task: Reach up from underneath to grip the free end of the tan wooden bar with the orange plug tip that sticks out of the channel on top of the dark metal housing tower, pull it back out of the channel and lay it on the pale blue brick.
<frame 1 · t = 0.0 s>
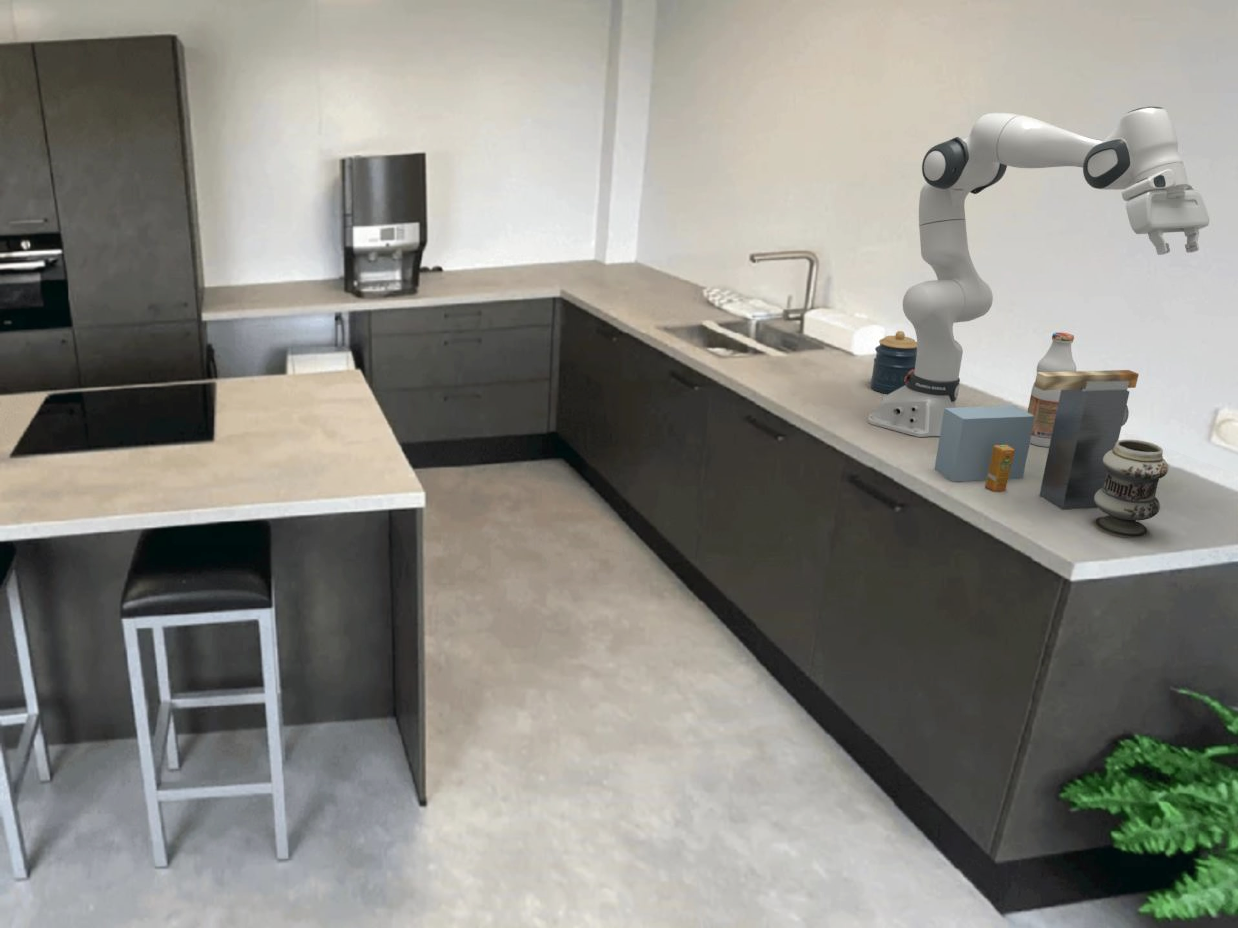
hand: (1178, 252, 195), 54 cm above the worktop, tool tilted 30°, fingers open, 8 cm apart
housing tower: (1070, 501, 215), on the worktop
pale blue brick: (978, 473, 229), on the worktop
supplement box: (995, 489, 221), on the worktop
canister: (892, 390, 293), on the worktop
tan wooden bar: (1085, 387, 206), point 26 cm above the worktop, touching housing tower
apothecary jar: (1120, 528, 203), on the worktop
fruit juice: (1041, 442, 253), on the worktop
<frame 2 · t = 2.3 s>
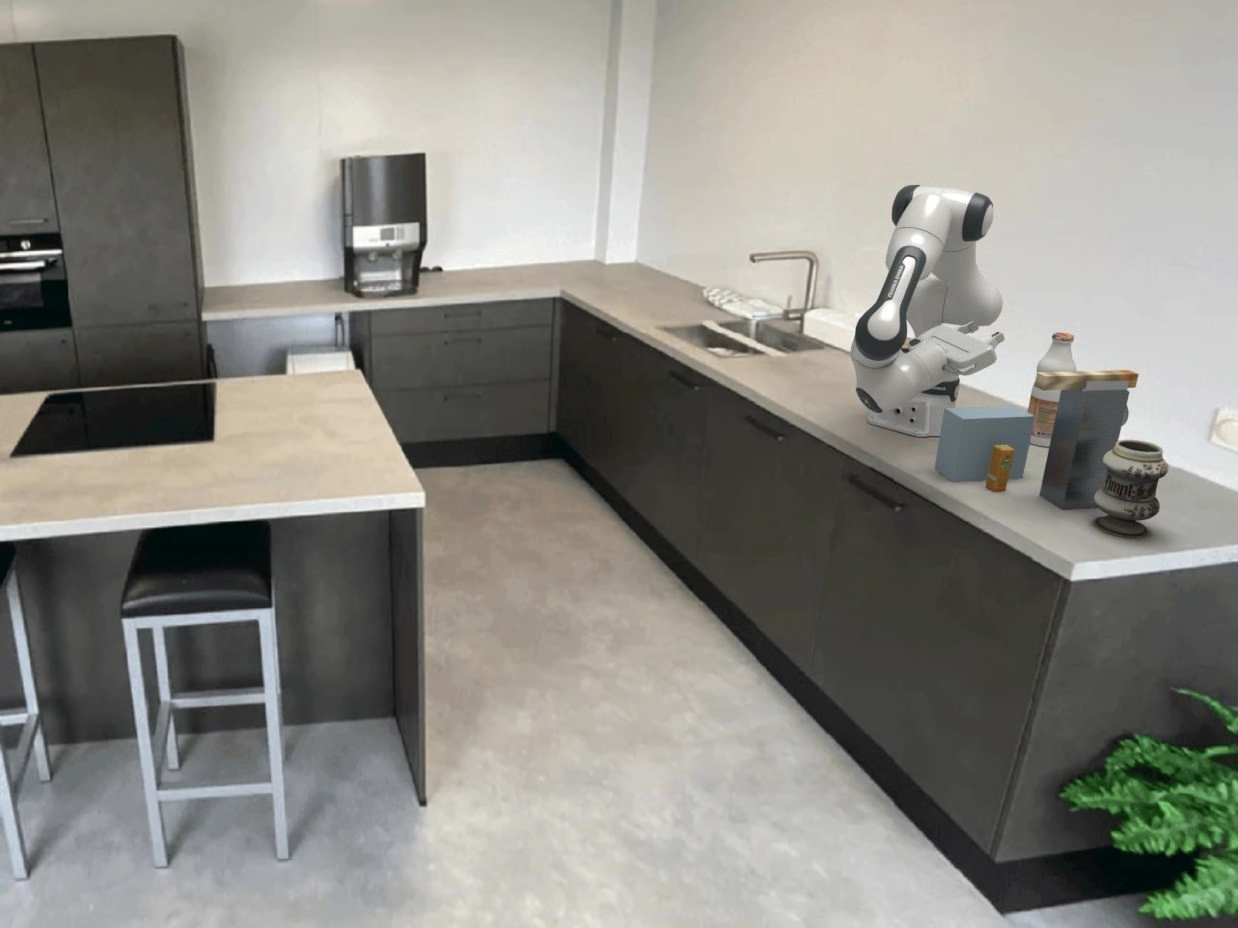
hand: (988, 330, 205), 36 cm above the worktop, tool pointing upward, fingers open, 8 cm apart
nothing on the worktop moved.
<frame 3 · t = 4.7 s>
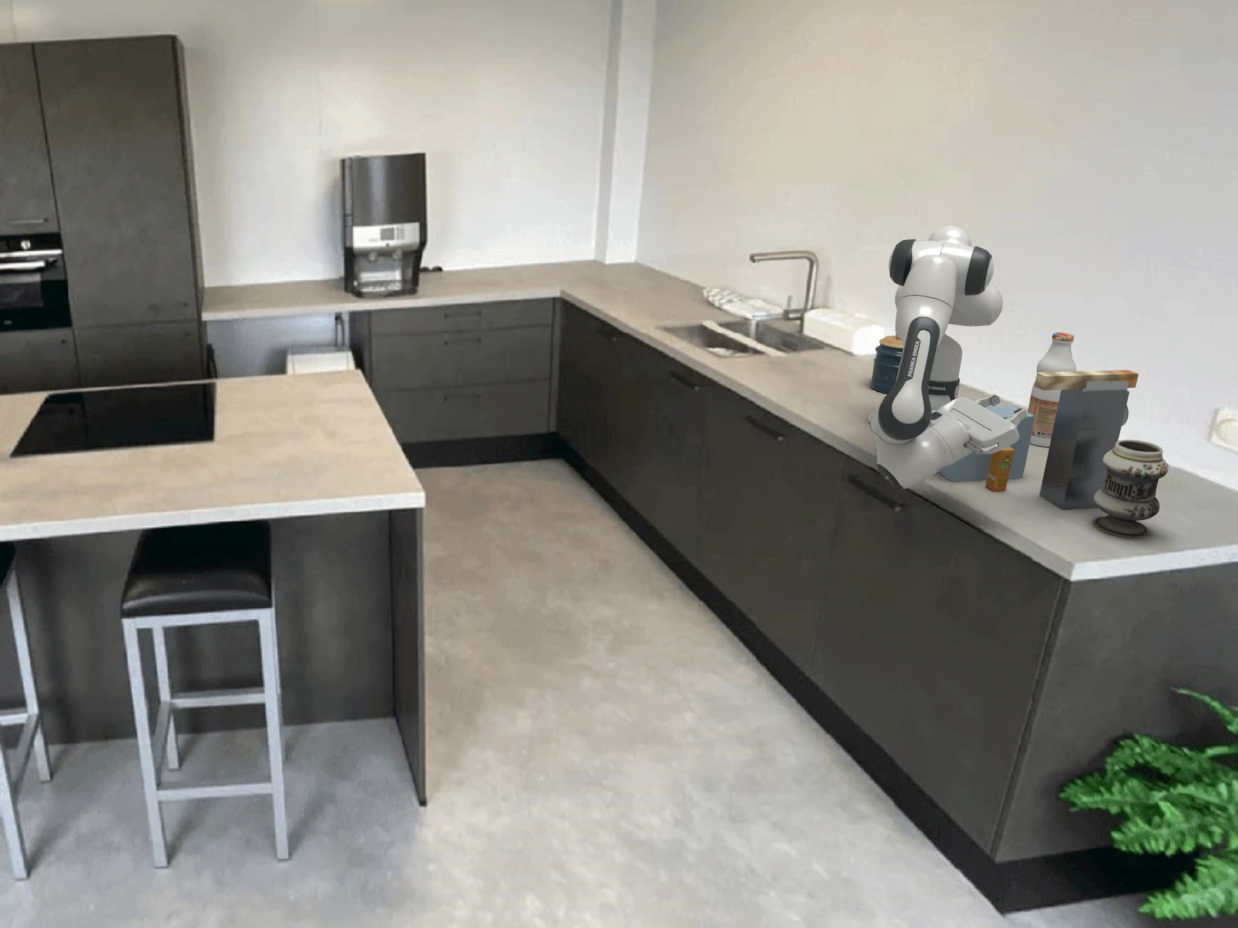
hand: (1010, 404, 203), 23 cm above the worktop, tool pointing upward, fingers open, 8 cm apart
nothing on the worktop moved.
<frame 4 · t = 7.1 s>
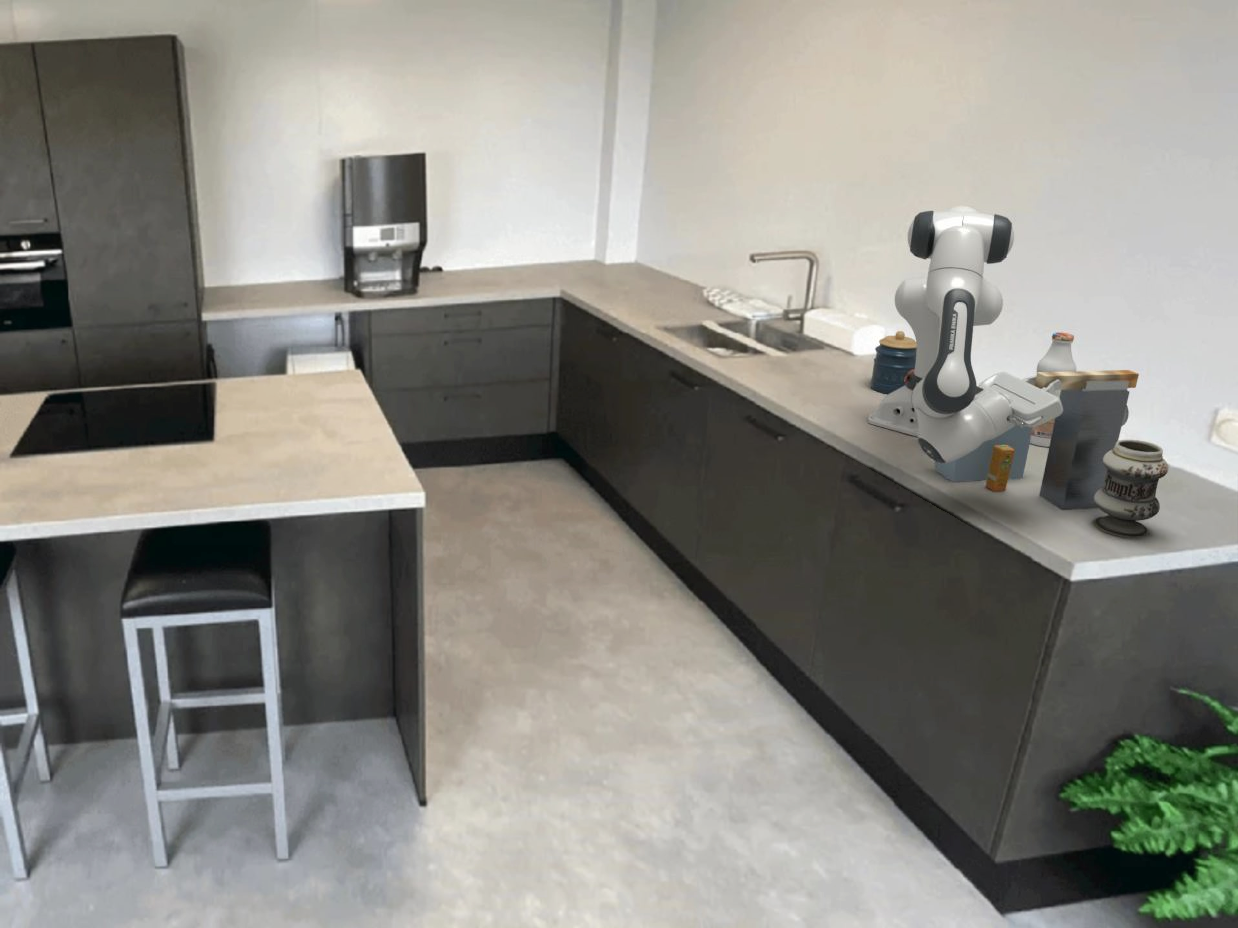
hand: (1052, 379, 203), 28 cm above the worktop, tool pointing upward, fingers closed on tan wooden bar, 3 cm apart
tan wooden bar: (1085, 387, 206), point 26 cm above the worktop, touching gripper, housing tower
everything else where it was.
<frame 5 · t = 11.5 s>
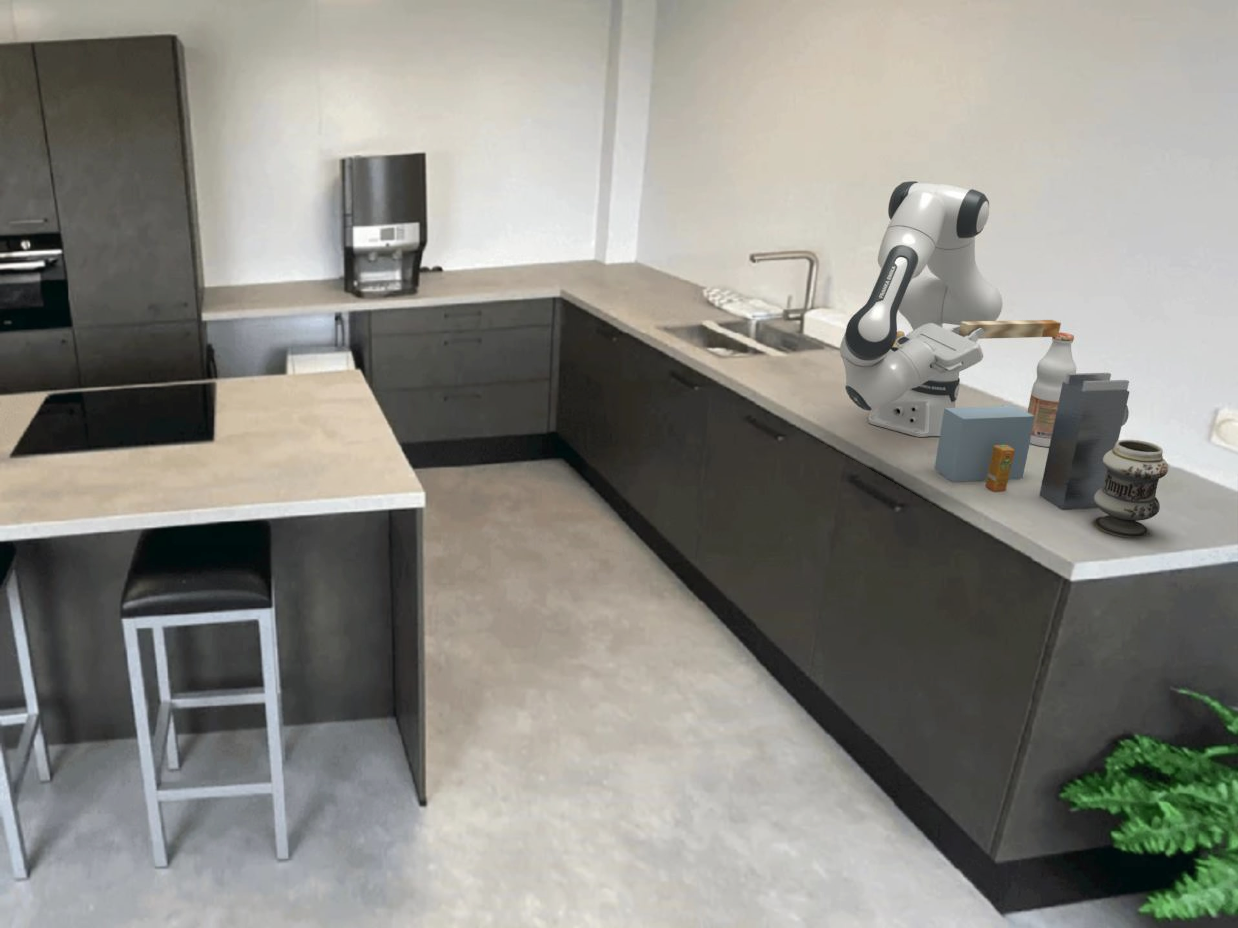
hand: (976, 327, 208), 36 cm above the worktop, tool pointing upward, fingers closed on tan wooden bar, 3 cm apart
tan wooden bar: (1008, 336, 211), point 34 cm above the worktop, touching gripper
everything else where it was.
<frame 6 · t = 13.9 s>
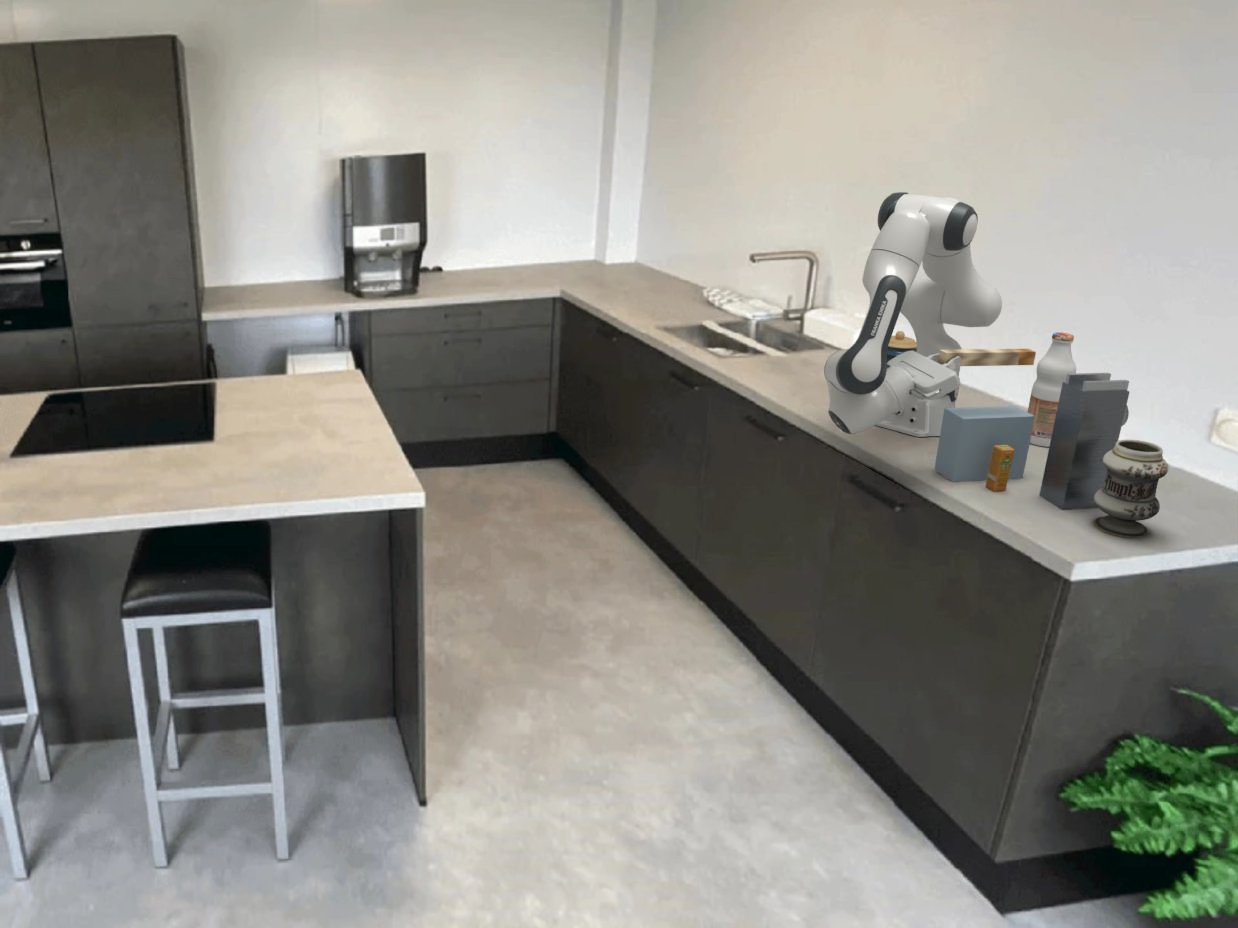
hand: (954, 356, 216), 28 cm above the worktop, tool pointing upward, fingers closed on tan wooden bar, 3 cm apart
tan wooden bar: (985, 364, 219), point 26 cm above the worktop, touching gripper
everything else where it was.
when the fingers open (19 cm above the worktop, at t = 15.9 s): tan wooden bar drops 2 cm, resting on pale blue brick.
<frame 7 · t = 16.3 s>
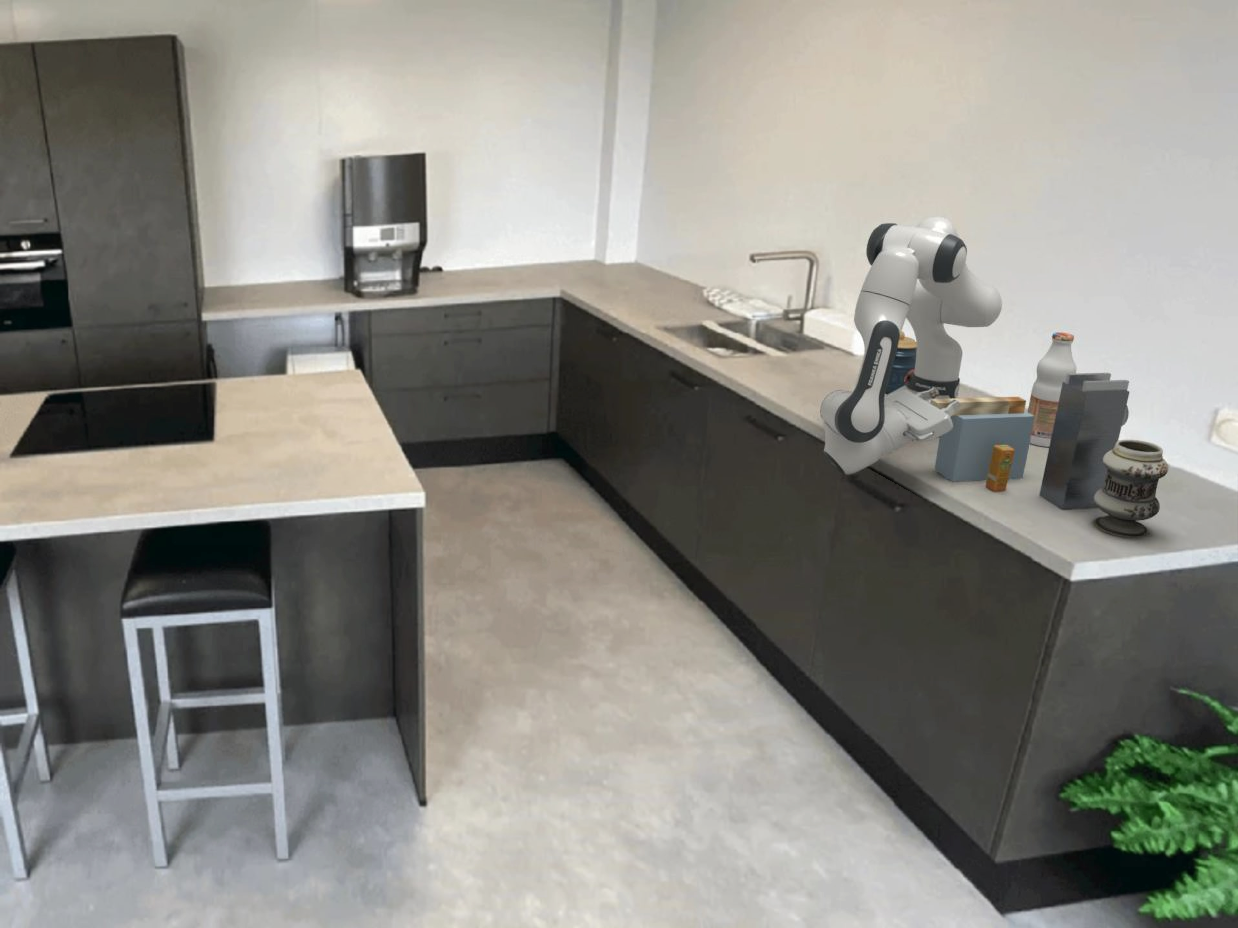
hand: (947, 396, 220), 19 cm above the worktop, tool pointing upward, fingers open, 8 cm apart
tan wooden bar: (976, 412, 223), point 15 cm above the worktop, touching pale blue brick
everything else where it was.
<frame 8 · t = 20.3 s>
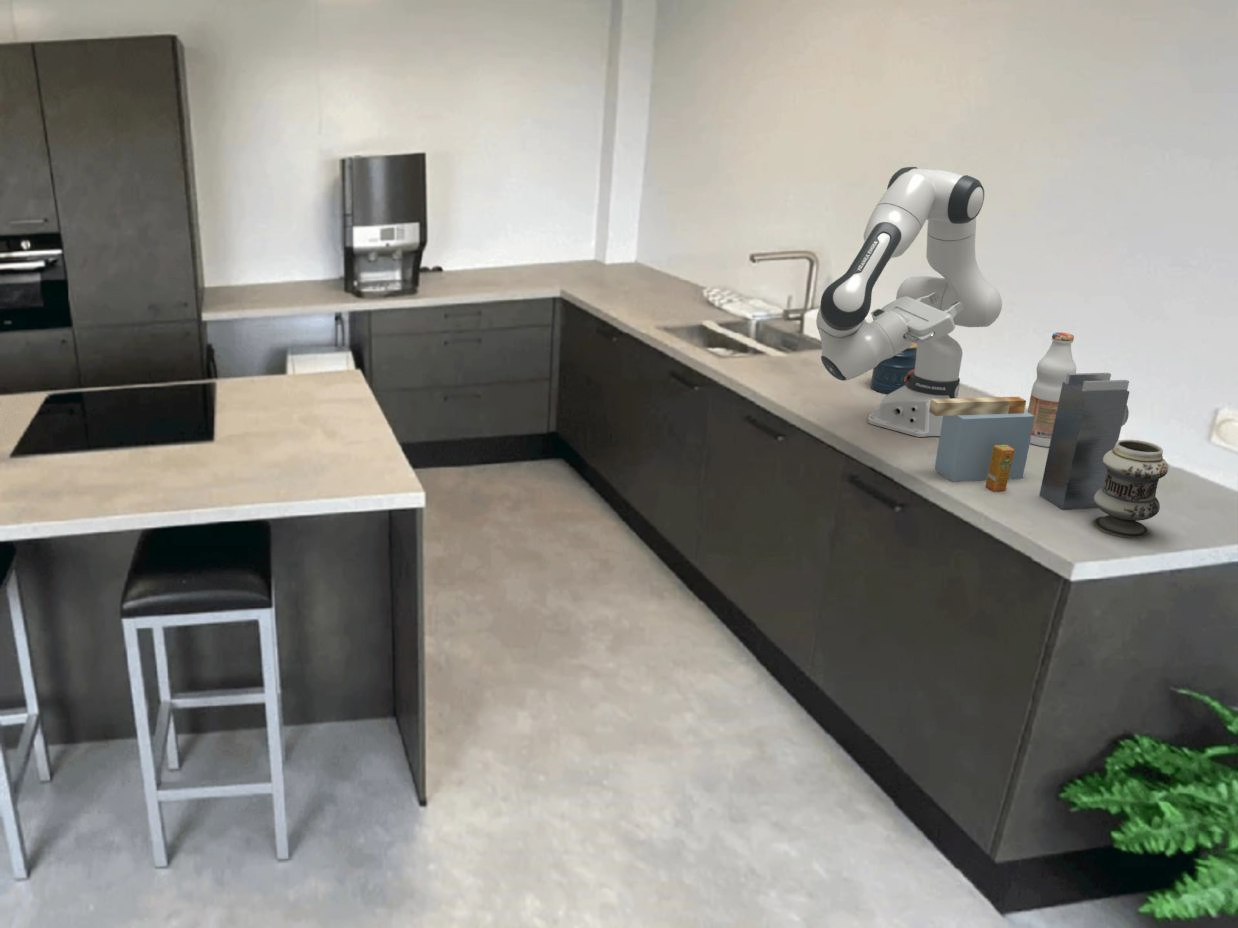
hand: (949, 300, 213), 40 cm above the worktop, tool pointing upward, fingers open, 8 cm apart
nothing on the worktop moved.
at the end: tan wooden bar inside the target area on the pale blue brick (3.3 cm from its centre), point 15.0 cm above the pale blue brick's base; the gripper is holding nothing; tan wooden bar moved 24.4 cm from its start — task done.
